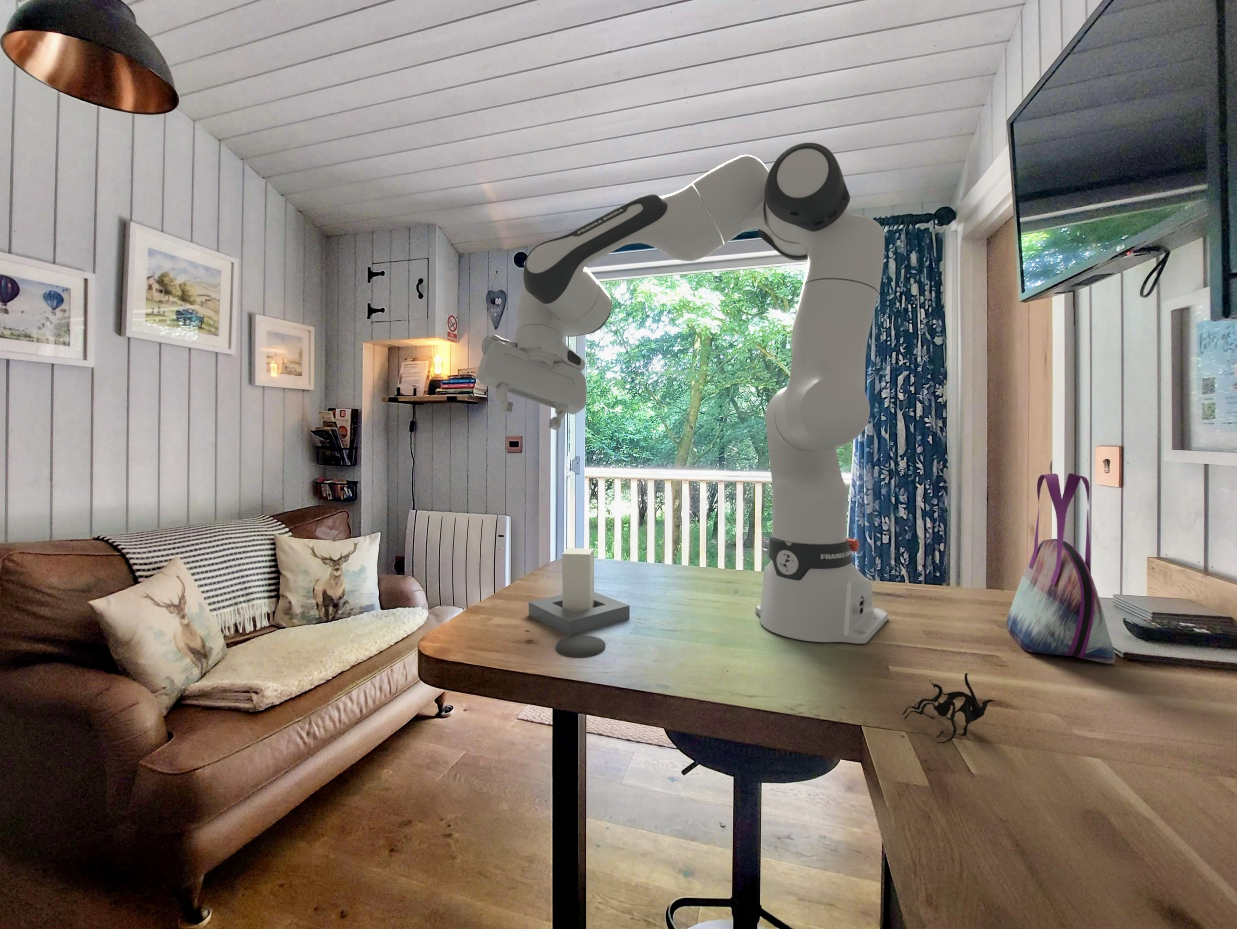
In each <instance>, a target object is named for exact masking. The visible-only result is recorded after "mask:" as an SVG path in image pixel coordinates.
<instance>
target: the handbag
mask: <svg viewBox="0 0 1237 929" xmlns="http://www.w3.org/2000/svg"><path fill="white" fill-rule="evenodd" d="M1044 480H1045V482H1046V486H1047V489H1048V493H1049V496H1050V499H1051V502H1052V504H1053V509H1054V511H1055V518H1056V538H1050V539H1044V540H1042V541H1040V542H1039V526H1040V524H1039V519H1040V507H1038V510H1037V511H1038V512H1037V518H1036V527H1035V534H1034V543H1033V545H1034V546H1033V553H1032V554H1031V556H1030V558H1029V560H1028V563H1027V565H1026V567H1025V569H1024V572H1023V574H1022V577H1021V579H1020V582H1019V585H1018V588H1017V589H1016V592H1015V594H1014V598H1013V601H1012V603H1011V606H1010V610H1009V612H1008V616H1007V618H1006V629H1007V631H1008V633H1009V635H1011V636H1012V637H1013V639H1014V640H1015V641H1016V642H1017V644H1018V645H1019V647H1020V648H1022V649H1023V651H1028V652H1030V653H1035V654H1045V655H1047V654H1048V655H1055V656H1056V655H1057V656H1058V655H1059V656H1066V657H1067V656H1068V657H1069V656H1070V657H1076V658H1078V659H1079V658H1080V659H1084V660H1089V661H1094V662H1099V663H1103V664H1115V663H1116V662H1115V661H1116V653H1115V649H1114V646H1113V643H1112V638H1111V636H1110V633H1109V629H1108V625H1107V622H1106V618H1105V614H1104V610H1103V606H1102V603H1101V599H1100V597H1099V594H1098V590H1097V588H1096V584H1095V582H1094V579H1093V576H1092V573H1091V541H1090V540H1091V539H1090V537H1091V536H1090V522H1089V521H1090V519H1089V516H1090V515H1089V510H1087V512H1086V534H1085V535H1086V537H1085V551H1084V552H1085V553H1084V556H1085V557H1084V558H1083V556H1082V555H1081V554H1080V553H1079V551H1078V550H1077V549H1076V548H1075V547H1074V546H1073V544H1071V543H1069V542H1068V541H1065V540H1064V538H1065V529H1066V527H1065V526H1066V519H1067V512H1068V508H1069V506H1070V503H1071V501H1072V499H1073V497H1074V495H1075V493H1076V491H1077V488H1078V487H1079V484H1080V480H1082V481H1081V482H1083V484H1084V488H1085V492H1086V500H1087V504H1089V503H1090V502H1089V501H1090V492H1091V491H1090V482H1089V480H1088V478H1087V477H1086V476H1083V475H1079V474H1074V473H1068V474H1067V479H1066V481H1065V486H1064V490H1063V493H1062V494H1061V492H1062V491H1061V486H1060V480H1059V475H1058V473H1045V474H1041V475H1039V477H1038V478H1037V483H1036V492H1037V493H1036V495H1037V501H1038V504H1040V495H1041V491H1042V490H1041V489H1042V487H1043V482H1044Z"/></svg>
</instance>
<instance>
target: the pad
mask: <svg viewBox="0 0 1237 929" xmlns="http://www.w3.org/2000/svg"><path fill="white" fill-rule="evenodd" d="M555 644H556V645H555V650H556V652H557V653H559V654H560V655H562V656H564V657H565V656H566V657H570V658H587V657H593V656H596V655H599V654H601V653H602V652H604V651H605V649H606V642H605V641H604V640H603V639H602V638H600V637H596V636H593V635H584V634H583V635H571V636H567V637H565V638H562V639H560V640H558V642H557V643H555Z"/></svg>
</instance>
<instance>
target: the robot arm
mask: <svg viewBox="0 0 1237 929" xmlns="http://www.w3.org/2000/svg"><path fill="white" fill-rule="evenodd" d="M850 201H851V195H850V193H849V189H848V187H847V185H846V181H845V179H844V176H843V173H842V169H841V167H840V164H839V162H838V160H837V158H836V157H835V155H834V153H833V152H832V151H831V150H830V149H829V148H827V147H826V146H825V145H823V144H820V143H817V142H802V143H798V144H796V145H792V146H791V147H789V148H787V149H786V150H785V151H783V152H782V153H781V154H780V155H779V156H778V157H777V158H776V160H775V161H774V162H773V164H772V166H771V168H770V169H768V167H767V166H766V165H765V163H763V162H762V160H760V159H759V158H757V157H755V156H753V155H750V154H744V155H739V156H737V157H735V158H733V159H730V160H728V161H725V163H722V164H721V165H718V166H717V167H715V168H713V169H712V170H710V171H708V172H706V173H705V174H704V175H702V176H700V177H699V178H697V179H696V180H694V181H693V182H692V183H690V184H688V185H687V186H686V187H684V188H682V189H680V190H677V191H675V192H673V193H669V194H666V195H657V194H656V193H655V194H654V193H649V194H644V195H642V196H639V197H636V198H634V199H631V200H630V201H627V202H626V203H624V204H622V205H619V206H617V207H616V208H613V209H612V210H609V211H608V212H606V213H605V214H603V215H601V216H599V217H597V218H595V219H594V220H591V221H589V222H587V223H585V224H583V225H582V226H580V227H578V228H576V229H574V230H572V231H570V232H568V233H566V234H564V235H560V236H558V237H554V238H552V239H549V240H546V241H543V242H541V243H539V244H537V245H536V246H534V247H533V248H532V249H531V250H530V252H529V253H528V254H527V256H526V258H525V261H524V265H523V277H522V278H523V286H522V287H521V288H522V289H521V292H520V295H519V299H518V308H517V316H516V318H517V324H518V325H517V327H516V329H515V332H514V340H513V341H511V340H508V339H505V338H502V337H500V336H499V335H496V334H492V335H487V336H485V337H483V338H482V342H481V351H482V352H481V353H482V357H481V359H480V361H479V365H478V369H477V374H476V377H477V378H476V379H478V382H479V383H480V384H481V385H484V386H487V387H490V388H493V389H495V395H496V398H497V400H498V402H499V404H500V407H499V408H500V409H499V413H500V414H503V415H506V416H509V415H511V414H512V413H513V407H514V403H513V402H511V401H509V398H508V397H509V396H508V395H507V394H511V395H513V396H516V397H519V398H522V399H526V400H529V401H532V402H534V403H537V404H540V405H543V406H546V407H549V408H552V409H555V410H554V413H555V414H556V416H553V417H552V418H550V419H549V420H548V421H549V422H548V423H549V424H548V428H549V429H551V430H554V431H558V430H559V429H560V428H561V427H562V426H561V425H562V420H563V418H564V417H565V415H566V414H569V415H576V414H577V413H579V412H581V411H583V409H584V408H585V407H586V405H587V380H586V379H587V378H586V377H585V376H586V375H585V374H584V373H583V370H584V369H585V368H586V361H585V359H584V358H583V357H581V355H579V354H578V353H577V352H575V351H574V350H572V349H571V348H570V347H569V346H568V345H567V344H566V343H565V342H564V337H567V338H572V337H578V336H586V335H589V334H593V333H595V332H597V331H599V330H601V328H603V327H604V326H605V325H606V323H607V321H609V318H610V315H611V312H612V309H613V301H612V297H611V295H610V294H609V293H608V291H607V290H606V288H604V286H603V285H602V284H601V282H600V281H599V280H598V279H597V278H596V277H595V276H594V275H593V274H592V272H591V271H590V270H589V269H588V268H587V266H588V265H589V264H591V263H594V262H596V261H598V260H599V259H601V258H603V257H605V256H607V255H609V254H611V253H613V252H614V251H616V250H618V249H620V248H622V247H624V246H627V245H630V244H644V245H648V246H650V247H652V248H655V249H656V250H658V251H660V252H662V253H663V254H665V255H667V256H668V257H670V258H673V259H675V260H678V261H682V262H695V261H698V260H701V259H703V258H706V257H707V256H709V255H711V254H712V253H713V252H715V251H716V250H718V249H719V248H721V247H723V246H724V245H725V244H727V243H729V242H730V241H731V240H733V239H734V238H736V237H737V236H738V235H740V234H742V233H744V232H745V231H748V230H753V229H754V230H755V229H756V230H757V233H758V234H757V235H758V237H760V238H761V239H762V240H763V241H764V242H766V243H767V244H768V245H769V246H771V248H773V249H774V250H775V251H776V252H777V253H778V254H779V255H781V256H782V257H784V258H786V259H788V260H791V261H799V262H801V261H807V263H806V269H805V275H804V278H803V279H804V280H803V283H802V287H801V291H800V295H799V300H798V305H797V308H796V313H795V317H794V318H795V319H794V322H793V326H792V330H791V335H790V338H791V363H790V372H789V374H790V375H789V381H788V383H787V386H785V387H782V388H781V389H780V390H778V391H777V392H776V393H775V394H774V395H773V397H772V398H771V399H770V401H768V405H767V406H766V410H765V414H764V415H765V416H764V420H765V421H764V422H765V427H766V438H767V451H768V459H769V468H770V473H771V485H772V505H771V506H772V508H771V509H772V513H771V514H772V519H771V524H772V525H771V527H772V528H771V535H770V536H769V541H768V546H767V548H768V558H769V559H770V562H769V563H768V564H766V565H765V567H764V568H763V569H764V570H763V579H762V589H761V596H760V598H761V599H760V604H756V606H755V613H756V614H757V615H758V616H759V617H760V618H759V622H760V624H761V625H762V626H763V627H764V628H765V629H766V630H768V631H770V632H772V633H775V634H777V635H780V636H783V637H787V638H790V639H795V640H800V641H804V642H805V641H806V642H814V643H815V642H816V643H851V644H861V645H862V644H863V645H864V644H866V643H868V642H869V641H870V639H872V637H873V636H874V635H875V634H876V633H877V632H878V630H880V629H881V628H882V626H884V624H885V623H886V622H887V621H888V619H889V614H888V612H887V611H885V610H884V609H882V608H879V607H876V606H874V605H873V586H872V583H871V581H870V580H868V579H867V577H866V576H864V575H863V574H862V572H860V571H859V569H857V567H856V566H855V565H854V564H853V563H852V562H853V561H854V560H853V554H852V552H854V553H857V552H858V551H859V549H860V547H859V546H860V542H859V540H858V539H855V538H852V539H850V538H849V537H847V526H848V525H847V519H848V518H847V516H848V515H847V514H848V513H847V512H848V489H847V485H846V483H845V481H844V478H843V476H842V472H841V466H840V462H839V456H838V449H839V448H842V447H844V446H845V445H848V444H849V443H851V442H853V441H854V440H855V439H857V438H858V437H859V436H860V435H861V434H862V432H864V430H865V429H866V427H867V425H868V423H869V420H870V415H871V404H870V401H869V397H868V396H867V394H866V358H867V357H866V356H867V348H868V342H869V341H868V340H869V335H870V331H871V328H872V327H871V326H872V323H873V322H872V321H873V319H874V318H873V317H874V314H875V310H876V305H877V302H878V298H879V292H880V287H881V283H882V277H883V272H884V270H883V269H884V262H885V251H886V250H885V249H886V248H885V245H886V244H885V242H886V241H885V240H886V238H885V232H884V229H883V227H882V225H880V223H879V222H878V221H876V220H874V219H873V218H871V217H868V216H866V215H860V214H853V213H850V212H849V211H848V209H847V207H848V206H849V203H850Z"/></svg>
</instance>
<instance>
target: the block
mask: <svg viewBox="0 0 1237 929" xmlns="http://www.w3.org/2000/svg"><path fill="white" fill-rule="evenodd" d="M561 556H562V557H561V558H562V559H561V560H562V561H561V564H562V566H561V567H562V568H561V570H562V578H561V579H562V589H561V591H562V594H561V595H562V600H563V608H564V609H566V610H568V611H571V612H573V613H575V612H579V611H583V610H587V609H591V608H594V592H595V548H587V547H586V548H582V547H579V548H578V547H576V548H575V547H570V548H569V547H567V548H566V550H564V551H563V552H562V555H561Z"/></svg>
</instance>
